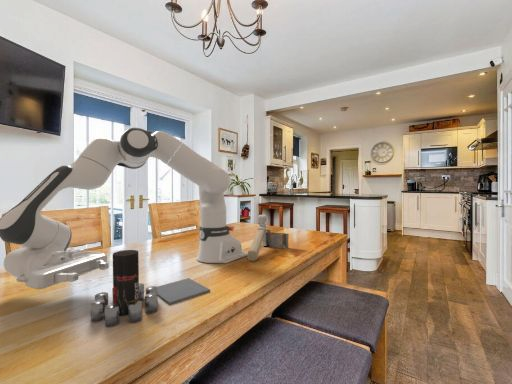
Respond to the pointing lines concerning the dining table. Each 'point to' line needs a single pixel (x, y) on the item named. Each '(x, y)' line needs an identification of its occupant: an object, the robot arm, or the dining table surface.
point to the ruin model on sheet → (276, 239)
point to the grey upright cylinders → (111, 312)
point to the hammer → (258, 239)
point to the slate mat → (180, 290)
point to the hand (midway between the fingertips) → (92, 271)
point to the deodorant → (125, 279)
